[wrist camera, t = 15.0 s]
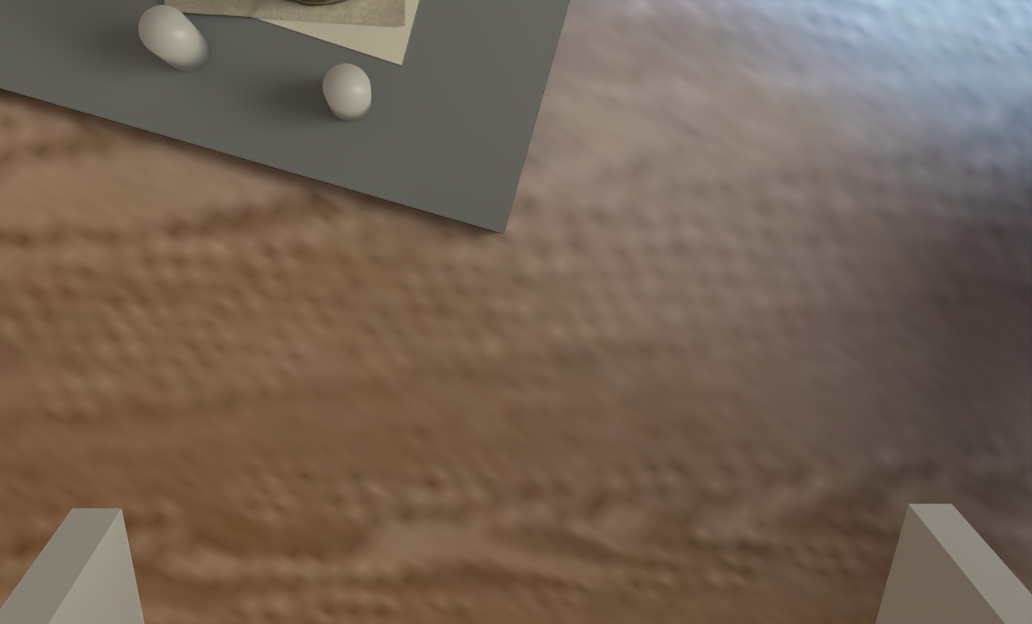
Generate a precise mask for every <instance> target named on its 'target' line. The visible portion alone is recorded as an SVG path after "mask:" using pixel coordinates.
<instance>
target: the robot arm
mask: <svg viewBox="0 0 1032 624" xmlns="http://www.w3.org/2000/svg"><path fill="white" fill-rule="evenodd" d="M0 624H144V619H143V614H142V609H141V604H140V599H139V594H138V589H137V584H136V579H135V574H134V569H133V564H132V559H131V554H130V549H129V544H128V538H127V533H126V528H125V523H124V518H123V513H122V508H72V510H71V511H70V513H69V514H68V515H67V517H66V518H65V520H64V521H63V522H62V524H61V525H60V526H59V528H58V529H57V531H56V532H55V533H54V535H53V536H52V538H51V539H50V540H49V542H48V543H47V545H46V546H45V547H44V549H43V550H42V551H41V553H40V554H39V556H38V557H37V558H36V560H35V561H34V563H33V564H32V565H31V567H30V568H29V570H28V571H27V572H26V574H25V575H24V576H23V578H22V579H21V581H20V582H19V583H18V585H17V586H16V588H15V589H14V590H13V592H12V593H11V595H10V596H9V597H8V599H7V600H6V601H5V603H4V604H3V606H2V607H1V608H0ZM875 624H1032V594H1031V593H1030V592H1029V591H1028V590H1027V588H1026V587H1025V586H1024V585H1023V584H1022V583H1021V582H1020V580H1019V579H1018V578H1017V577H1016V576H1015V575H1014V574H1013V573H1012V571H1011V570H1010V569H1009V568H1008V567H1007V566H1006V565H1005V563H1004V562H1003V561H1002V560H1001V559H1000V558H999V557H998V556H997V554H996V553H995V552H994V551H993V550H992V549H991V548H990V547H989V545H988V544H987V543H986V542H985V541H984V540H983V539H982V537H981V536H980V535H979V534H978V533H977V532H976V531H975V530H974V528H973V527H972V526H971V525H970V524H969V523H968V522H967V520H966V519H965V518H964V517H963V516H962V515H961V514H960V513H959V511H958V510H957V509H956V508H955V507H954V506H953V505H952V504H908V508H907V511H906V515H905V519H904V522H903V526H902V529H901V533H900V536H899V540H898V544H897V547H896V551H895V554H894V558H893V562H892V565H891V569H890V572H889V576H888V579H887V583H886V587H885V590H884V594H883V597H882V601H881V605H880V608H879V612H878V615H877V619H876V622H875Z"/></svg>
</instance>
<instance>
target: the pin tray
mask: <svg viewBox="0 0 1032 624" xmlns="http://www.w3.org/2000/svg"><path fill="white" fill-rule="evenodd" d="M569 1H570V0H405V26H381V25H368V24H348V23H332V22H317V21H301V20H287V19H275V18H260V17H244V16H230V15H211V14H198V13H181V12H180V11H179V10H177V9H176V8H174V7H171V6H167V5H165V0H0V89H3V90H7V91H10V92H14V93H17V94H20V95H24V96H27V97H31V98H34V99H38V100H41V101H45V102H48V103H52V104H55V105H58V106H62V107H65V108H69V109H72V110H76V111H79V112H83V113H86V114H90V115H93V116H97V117H100V118H103V119H107V120H110V121H114V122H117V123H121V124H124V125H128V126H131V127H135V128H138V129H141V130H145V131H148V132H152V133H155V134H159V135H162V136H166V137H169V138H173V139H176V140H180V141H183V142H186V143H190V144H193V145H197V146H200V147H204V148H207V149H211V150H214V151H218V152H221V153H225V154H228V155H231V156H235V157H238V158H242V159H245V160H249V161H252V162H256V163H259V164H263V165H266V166H269V167H273V168H276V169H280V170H283V171H287V172H290V173H294V174H297V175H301V176H304V177H308V178H311V179H314V180H318V181H321V182H325V183H328V184H332V185H335V186H339V187H342V188H346V189H349V190H352V191H356V192H359V193H363V194H366V195H370V196H373V197H377V198H380V199H384V200H387V201H391V202H394V203H397V204H401V205H404V206H408V207H411V208H415V209H418V210H422V211H425V212H429V213H432V214H436V215H439V216H442V217H446V218H449V219H453V220H456V221H460V222H463V223H467V224H470V225H474V226H477V227H480V228H484V229H487V230H491V231H494V232H498V233H503V234H504V231H505V228H506V224H507V221H508V217H509V214H510V210H511V207H512V203H513V199H514V196H515V192H516V189H517V185H518V182H519V178H520V175H521V171H522V168H523V164H524V160H525V157H526V153H527V150H528V146H529V143H530V139H531V136H532V132H533V129H534V125H535V121H536V118H537V114H538V111H539V107H540V104H541V100H542V97H543V93H544V89H545V86H546V82H547V79H548V75H549V72H550V68H551V65H552V61H553V58H554V54H555V50H556V47H557V43H558V40H559V36H560V33H561V29H562V26H563V22H564V19H565V15H566V11H567V8H568V4H569Z"/></svg>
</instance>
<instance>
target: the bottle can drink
mask: <svg viewBox="0 0 1032 624" xmlns="http://www.w3.org/2000/svg"><path fill="white" fill-rule="evenodd" d="M165 5H167V6H171V7H174V8H176V9H177V10H179V11H180V12H181V13H198V14H211V15H230V16H244V17H260V18H275V19H287V20H301V21H317V22H332V23H348V24H368V25H381V26H405V0H165Z"/></svg>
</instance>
